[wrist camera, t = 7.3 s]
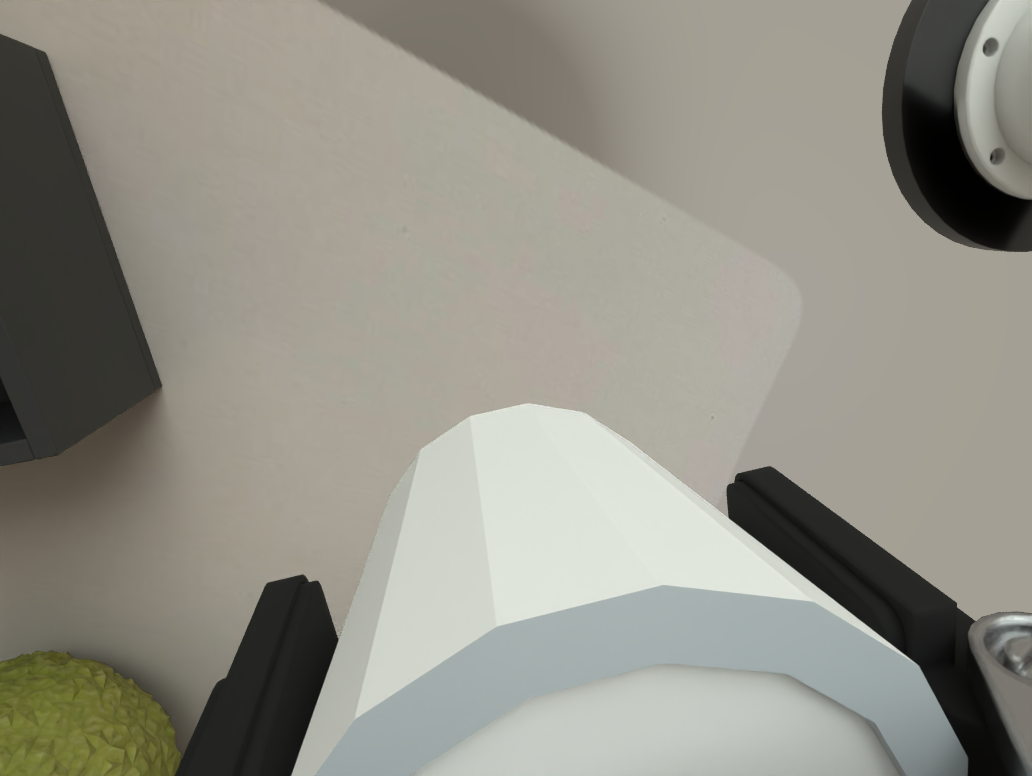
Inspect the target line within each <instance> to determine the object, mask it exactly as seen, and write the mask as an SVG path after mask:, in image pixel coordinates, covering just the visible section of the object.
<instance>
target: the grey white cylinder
mask: <svg viewBox="0 0 1032 776" xmlns="http://www.w3.org/2000/svg"><path fill="white" fill-rule="evenodd" d="M967 775H968V757H967V755H966V753H965V751H964V749H963V748H962V746H961V744H960V742H959V740H958V738H957V736H956V734H955V733H954V731H953V729H952V727H951V725H950V723H949V721H948V719H947V718H946V716H945V714H944V712H943V710H942V708H941V706H940V704H939V703H938V701H937V699H936V697H935V695H934V693H933V691H932V690H931V688H930V686H929V684H928V682H927V680H926V678H925V676H924V675H923V673H922V671H921V669H920V667H919V666H918V665H917V664H916V663H915V662H913V661H912V660H911V659H909V658H908V657H907V656H906V655H904V654H903V653H902V652H900V651H899V650H898V649H896V648H895V647H894V646H893V645H891V644H890V643H889V642H887V641H886V640H885V639H884V638H882V637H881V636H880V635H878V634H877V633H876V632H875V631H873V630H872V629H871V628H869V627H868V626H867V625H866V624H864V623H863V622H862V621H860V620H859V619H858V618H856V617H855V616H854V615H853V614H851V613H850V612H849V611H847V610H846V609H845V608H844V607H842V606H841V605H840V604H838V603H837V602H836V601H835V600H833V599H832V598H831V597H829V596H828V595H827V594H826V593H824V592H823V591H822V590H820V589H819V588H818V587H816V586H815V585H814V584H813V583H811V582H810V581H809V580H807V579H806V578H805V577H804V576H802V575H801V574H800V573H798V572H797V571H796V570H795V569H793V568H792V567H791V566H789V565H788V564H787V563H786V562H784V561H783V560H782V559H780V558H779V557H778V556H776V555H775V554H774V553H773V552H771V551H770V550H769V549H767V548H766V547H765V546H764V545H762V544H761V543H760V542H758V541H757V540H756V539H755V538H753V537H752V536H751V535H749V534H748V533H747V532H746V531H744V530H743V529H742V528H740V527H739V526H738V525H736V524H735V523H734V522H733V521H731V520H730V519H729V518H727V517H726V516H725V515H724V514H722V513H721V512H720V511H718V510H717V509H716V508H715V507H713V506H712V505H711V504H709V503H708V502H707V501H706V500H704V499H703V498H702V497H700V496H699V495H698V494H696V493H695V492H694V491H693V490H691V489H690V488H689V487H687V486H686V485H685V484H684V483H682V482H681V481H680V480H678V479H677V478H676V477H675V476H673V475H672V474H671V473H669V472H668V471H667V470H666V469H664V468H663V467H662V466H660V465H659V464H658V463H656V462H655V461H654V460H653V459H651V458H650V457H649V456H647V455H646V454H645V453H644V452H642V451H641V450H640V449H638V448H637V447H636V446H635V445H633V444H632V443H631V442H629V441H628V440H626V439H625V438H623V437H622V436H620V435H619V434H617V433H615V432H614V431H612V430H611V429H609V428H608V427H606V426H604V425H603V424H601V423H600V422H598V421H597V420H595V419H593V418H592V417H590V416H589V415H587V414H586V413H584V412H579V411H572V410H566V409H560V408H554V407H548V406H542V405H535V404H529V403H526V404H522V405H517V406H513V407H508V408H504V409H499V410H495V411H490V412H486V413H481V414H477V415H472V416H469V417H468V418H466V419H465V420H463V421H462V422H460V423H459V424H457V425H456V426H454V427H453V428H451V429H450V430H448V431H447V432H445V433H444V434H442V435H441V436H439V437H438V438H436V439H435V440H433V441H432V442H430V443H429V444H427V445H426V446H425V447H423V448H422V449H420V451H419V452H418V454H417V455H416V457H415V458H414V460H413V461H412V463H411V464H410V466H409V467H408V469H407V470H406V472H405V473H404V475H403V476H402V478H401V479H400V481H399V482H398V484H397V485H396V487H395V488H394V490H393V491H392V493H391V494H390V496H389V498H388V501H387V504H386V507H385V510H384V513H383V516H382V518H381V521H380V524H379V527H378V530H377V533H376V535H375V538H374V541H373V544H372V547H371V550H370V553H369V555H368V558H367V561H366V564H365V567H364V570H363V573H362V575H361V578H360V581H359V584H358V587H357V590H356V593H355V595H354V598H353V601H352V604H351V607H350V610H349V612H348V615H347V618H346V621H345V624H344V627H343V630H342V632H341V635H340V638H339V641H338V644H337V647H336V650H335V652H334V655H333V658H332V661H331V664H330V667H329V670H328V672H327V675H326V678H325V681H324V684H323V687H322V689H321V692H320V695H319V698H318V701H317V704H316V707H315V709H314V712H313V715H312V718H311V721H310V724H309V727H308V729H307V732H306V735H305V738H304V741H303V744H302V747H301V749H300V752H299V755H298V758H297V761H296V764H295V767H294V769H293V772H292V775H291V776H967Z"/></svg>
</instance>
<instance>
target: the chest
mask: <svg viewBox="0 0 1032 776" xmlns="http://www.w3.org/2000/svg"><path fill="white" fill-rule="evenodd" d="M160 387H162V385H161V382H160V379H159V376H158V373H157V370H156V367H155V365H154V362H153V359H152V356H151V353H150V350H149V347H148V345H147V342H146V339H145V336H144V333H143V330H142V327H141V324H140V322H139V319H138V316H137V313H136V310H135V307H134V304H133V302H132V299H131V296H130V293H129V290H128V287H127V284H126V282H125V279H124V276H123V273H122V270H121V267H120V264H119V261H118V259H117V256H116V253H115V250H114V247H113V244H112V241H111V239H110V236H109V233H108V230H107V227H106V224H105V221H104V218H103V216H102V213H101V210H100V207H99V204H98V201H97V198H96V196H95V193H94V190H93V187H92V184H91V181H90V178H89V175H88V173H87V170H86V167H85V164H84V161H83V158H82V155H81V153H80V150H79V147H78V144H77V141H76V138H75V135H74V132H73V130H72V127H71V124H70V121H69V118H68V115H67V112H66V110H65V107H64V104H63V101H62V98H61V95H60V92H59V89H58V87H57V84H56V81H55V78H54V75H53V72H52V69H51V67H50V64H49V61H48V58H47V55H46V53H45V52H43V51H41V50H38V49H36V48H33V47H31V46H29V45H26V44H24V43H22V42H19V41H17V40H14V39H12V38H9V37H7V36H4V35H2V34H0V466H5V465H10V464H15V463H21V462H26V461H31V460H35V459H42V458H47V457H52V456H57V455H59V454H61V453H62V452H64V451H65V450H67V449H68V448H70V447H71V446H73V445H74V444H76V443H77V442H79V441H80V440H82V439H83V438H85V437H86V436H88V435H89V434H91V433H92V432H94V431H95V430H97V429H98V428H100V427H101V426H103V425H105V424H106V423H108V422H109V421H111V420H112V419H114V418H115V417H117V416H118V415H120V414H121V413H123V412H124V411H126V410H127V409H129V408H130V407H132V406H133V405H135V404H136V403H138V402H139V401H141V400H142V399H144V398H145V397H147V396H148V395H150V394H151V393H153V392H154V391H156V390H157V389H159V388H160Z"/></svg>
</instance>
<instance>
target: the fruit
mask: <svg viewBox="0 0 1032 776" xmlns="http://www.w3.org/2000/svg"><path fill="white" fill-rule="evenodd" d="M180 759H181V753H180V752H179V751H178V750H177V748H176V742H175V729H173V727H172V724H171V722H170V716H168V715H167V714H166V713H165V711H164V709H162V707H161V705H160V704H158V703H157V702H156V701H155V700H153V699H152V694H149V693H146V692H144V691H143V690H141V688H139V686H138V685H137V684H136V683H135V682H133V680H132V679H124V677H121V675H120V674H118V673H114V670H113V668H111V667H109V666H106V665H105V664H104V663H101V662H97V661H94V660H90V659H75V658H72V657H71V655H70V654H69V653H68V652H67V653H64V652H63V653H57V652H55V651H53V650H52V651H50V652H41V651H36V652H34V653H32V654H26V655H24V654H21V655H20V656H18V657H17V658H16V659H10V660H7V661H2V662H0V776H175V774H176V772H177V770H178V767H179V765H180Z"/></svg>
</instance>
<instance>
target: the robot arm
mask: <svg viewBox="0 0 1032 776" xmlns="http://www.w3.org/2000/svg"><path fill="white" fill-rule="evenodd" d="M954 119H955V125H956V131H957V136H958V139H959V142H960V145H961V147H962V150H963V152H964V155H965V157H966V159H967V160H968V162H969V163H970V165H971V166H972V168H973V170H974V171H975V173H976V174H977V175H978V176H979V177H981V178H982V179H983V180H984V181H985V182H986V183H987V184H988V185H989V186H991V187H992V188H994V189H996V190H998V191H999V192H1001V193H1003V194H1005V195H1008V196H1012V197H1015V198H1019V199H1024V200H1032V0H989V1H988V3H987V4H986V6H985V7H984V9H983V10H982V12H981V13H980V15H979V16H978V17H977V19H976V21H975V23H974V25H973V28H972V30H971V32H970V34H969V36H968V38H967V40H966V42H965V45H964V48H963V51H962V55H961V58H960V61H959V64H958V68H957V74H956V80H955V86H954ZM727 504H728V514H729V515H728V516H729V519H730V520H731V521H733V522H734V523H735V524H736V525H738V526H739V527H740V528H742V529H743V530H744V531H746V532H747V533H748V534H749V535H751V536H752V537H753V538H755V539H756V540H757V541H758V542H760V543H761V544H762V545H764V546H765V547H766V548H767V549H769V550H770V551H771V552H773V553H774V554H775V555H776V556H778V557H779V558H780V559H782V560H783V561H784V562H786V563H787V564H788V565H789V566H791V567H792V568H793V569H795V570H796V571H797V572H798V573H800V574H801V575H802V576H804V577H805V578H806V579H807V580H809V581H810V582H811V583H813V584H814V585H815V586H816V587H818V588H819V589H820V590H822V591H823V592H824V593H826V594H827V595H828V596H829V597H831V598H832V599H833V600H835V601H836V602H837V603H838V604H840V605H841V606H842V607H844V608H845V609H846V610H847V611H849V612H850V613H851V614H853V615H854V616H855V617H856V618H858V619H859V620H860V621H862V622H863V623H864V624H866V625H867V626H868V627H869V628H871V629H872V630H873V631H875V632H876V633H877V634H878V635H880V636H881V637H882V638H884V639H885V640H886V641H887V642H889V643H890V644H891V645H893V646H894V647H895V648H896V649H898V650H899V651H900V652H902V653H903V654H904V655H906V656H907V657H908V658H909V659H911V660H912V661H913V662H915V663H916V664H917V665H918V666H919V667H920V669H921V671H922V673H923V675H924V676H925V678H926V680H927V682H928V684H929V686H930V688H931V690H932V691H933V693H934V695H935V697H936V699H937V701H938V703H939V704H940V706H941V708H942V710H943V712H944V714H945V716H946V718H947V719H948V721H949V723H950V725H951V727H952V729H953V731H954V733H955V734H956V736H957V738H958V740H959V742H960V744H961V746H962V748H963V749H964V751H965V753H966V755H967V757H968V775H967V776H1032V613H1024V612H998V613H995V614H991V615H987V616H984V617H981V618H980V619H979V620H977V621H974V620H973V619H972V618H971V617H969V616H968V615H967V614H965V613H964V612H963V611H961V610H960V609H958V608H957V603H956V602H955V601H953V600H952V599H951V598H949V597H948V596H947V595H945V594H944V593H943V592H941V591H940V590H939V589H937V588H936V587H934V586H933V585H932V584H930V583H929V582H928V581H926V580H925V579H923V578H922V577H921V576H920V575H918V574H917V573H915V572H914V571H913V570H911V569H910V568H909V567H907V566H906V565H905V564H903V563H902V562H901V561H899V560H898V559H896V558H895V557H894V556H892V555H891V554H890V553H888V552H887V551H885V550H884V549H883V548H882V547H880V546H879V545H877V544H876V543H875V542H873V541H872V540H871V539H869V538H868V537H867V536H865V535H864V534H863V533H861V532H860V531H858V530H857V529H856V528H854V527H853V526H852V525H850V524H849V523H848V522H846V521H845V520H844V519H842V518H841V517H840V516H838V515H837V514H835V513H834V512H833V511H831V510H830V509H829V508H827V507H826V506H824V505H823V504H822V503H821V502H819V501H818V500H816V499H815V498H814V497H812V496H811V495H810V494H808V493H807V492H806V491H804V490H803V489H801V488H800V487H799V486H797V485H796V484H795V483H793V482H792V481H791V480H789V479H788V478H787V477H785V476H784V475H783V474H781V473H780V472H779V471H777V470H776V469H774V468H772V467H770V466H769V467H764V468H759V469H755V470H751V471H746V472H742V473H738V474H737V475H736V476H735V481H734V483H732V484H729V485H728V486H727ZM337 644H338V638H337V634H336V631H335V628H334V625H333V622H332V618H331V615H330V612H329V609H328V606H327V603H326V599H325V596H324V593H323V590H322V587H321V585H320V583H319V582H318V581H312V582H309V581H308V579H307V578H306V576H304V575H299V576H294V577H290V578H286V579H282V580H277V581H273V582H269V583H267V584H266V586H265V587H264V590H263V592H262V594H261V597H260V599H259V602H258V604H257V606H256V609H255V611H254V613H253V616H252V618H251V620H250V623H249V625H248V627H247V630H246V632H245V635H244V637H243V639H242V642H241V644H240V646H239V649H238V651H237V653H236V656H235V658H234V660H233V663H232V665H231V668H230V670H229V672H228V675H227V677H226V678H225V679H222V680H220V681H219V682H217V684H216V685H215V687H214V689H213V690H212V693H211V695H210V697H209V699H208V702H207V704H206V706H205V708H204V711H203V713H202V715H201V717H200V720H199V722H198V724H197V726H196V729H195V731H194V733H193V736H192V738H191V740H190V742H189V745H188V747H187V749H186V751H185V754H184V756H183V758H182V760H181V763H180V765H179V767H178V770H177V772H176V774H175V776H291V775H292V772H293V769H294V767H295V764H296V761H297V758H298V755H299V752H300V749H301V747H302V744H303V741H304V738H305V735H306V732H307V729H308V727H309V724H310V721H311V718H312V715H313V712H314V709H315V707H316V704H317V701H318V698H319V695H320V692H321V689H322V687H323V684H324V681H325V678H326V675H327V672H328V670H329V667H330V664H331V661H332V658H333V655H334V652H335V650H336V647H337Z"/></svg>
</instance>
